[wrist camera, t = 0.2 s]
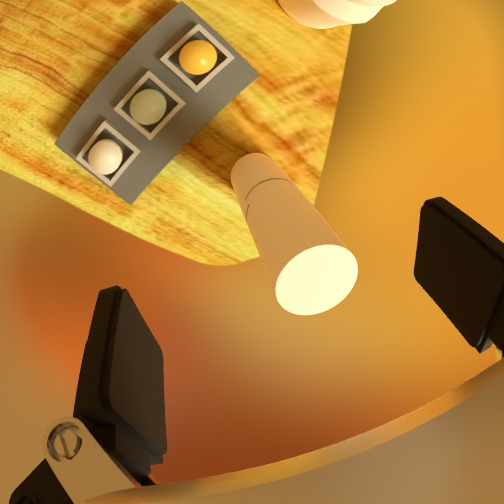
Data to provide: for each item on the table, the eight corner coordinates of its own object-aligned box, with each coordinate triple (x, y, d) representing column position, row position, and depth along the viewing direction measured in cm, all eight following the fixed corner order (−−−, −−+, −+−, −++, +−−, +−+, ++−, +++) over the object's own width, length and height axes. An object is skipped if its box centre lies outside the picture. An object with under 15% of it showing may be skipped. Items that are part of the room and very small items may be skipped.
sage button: (124, 108, 33) (122, 109, 32) (148, 81, 32) (147, 82, 31) (150, 129, 35) (148, 131, 34) (173, 103, 34) (173, 105, 33)
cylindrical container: (226, 196, 47) (267, 316, 27) (234, 149, 43) (287, 241, 23) (273, 200, 49) (341, 313, 28) (283, 156, 45) (369, 246, 25)
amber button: (171, 58, 31) (171, 58, 30) (198, 34, 30) (198, 32, 29) (196, 81, 33) (197, 81, 32) (222, 57, 32) (224, 57, 31)
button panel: (61, 138, 37) (50, 146, 33) (181, 5, 31) (181, -2, 27) (133, 196, 44) (129, 209, 40) (255, 74, 38) (262, 75, 34)
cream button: (85, 157, 35) (81, 161, 34) (105, 131, 34) (102, 134, 33) (109, 176, 37) (107, 181, 36) (129, 152, 36) (127, 155, 35)
